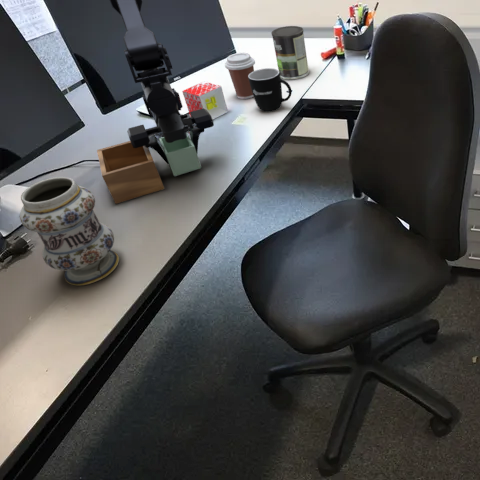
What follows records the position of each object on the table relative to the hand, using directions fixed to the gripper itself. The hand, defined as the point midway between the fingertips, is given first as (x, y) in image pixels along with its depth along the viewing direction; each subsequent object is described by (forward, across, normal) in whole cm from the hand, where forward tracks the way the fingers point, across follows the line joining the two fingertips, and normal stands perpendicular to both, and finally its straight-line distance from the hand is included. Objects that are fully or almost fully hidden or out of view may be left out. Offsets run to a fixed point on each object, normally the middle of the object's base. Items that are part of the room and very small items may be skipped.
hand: (182, 159), depth 119 cm
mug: (+3, +31, +20) cm, 37 cm away
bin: (+1, 0, 0) cm, 1 cm away
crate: (+2, -12, 0) cm, 12 cm away
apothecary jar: (+3, -24, -28) cm, 37 cm away
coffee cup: (+3, +27, +35) cm, 44 cm away
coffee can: (+3, +46, +42) cm, 62 cm away
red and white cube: (+3, +13, +28) cm, 31 cm away
